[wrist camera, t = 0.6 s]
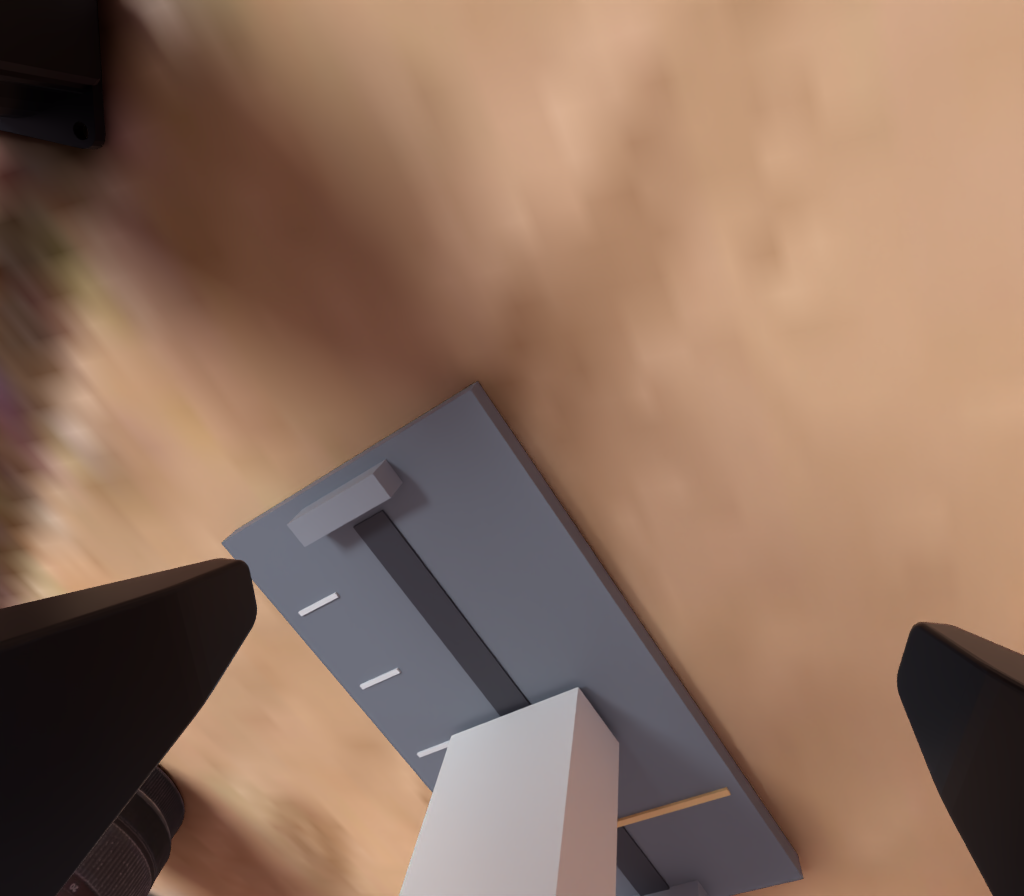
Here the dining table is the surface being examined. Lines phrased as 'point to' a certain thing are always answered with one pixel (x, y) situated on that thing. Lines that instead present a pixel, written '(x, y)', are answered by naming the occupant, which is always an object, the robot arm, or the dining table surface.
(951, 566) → the dining table surface
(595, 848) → the fader knob
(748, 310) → the dining table surface
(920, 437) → the dining table surface
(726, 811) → the mixer panel
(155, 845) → the camera lens
